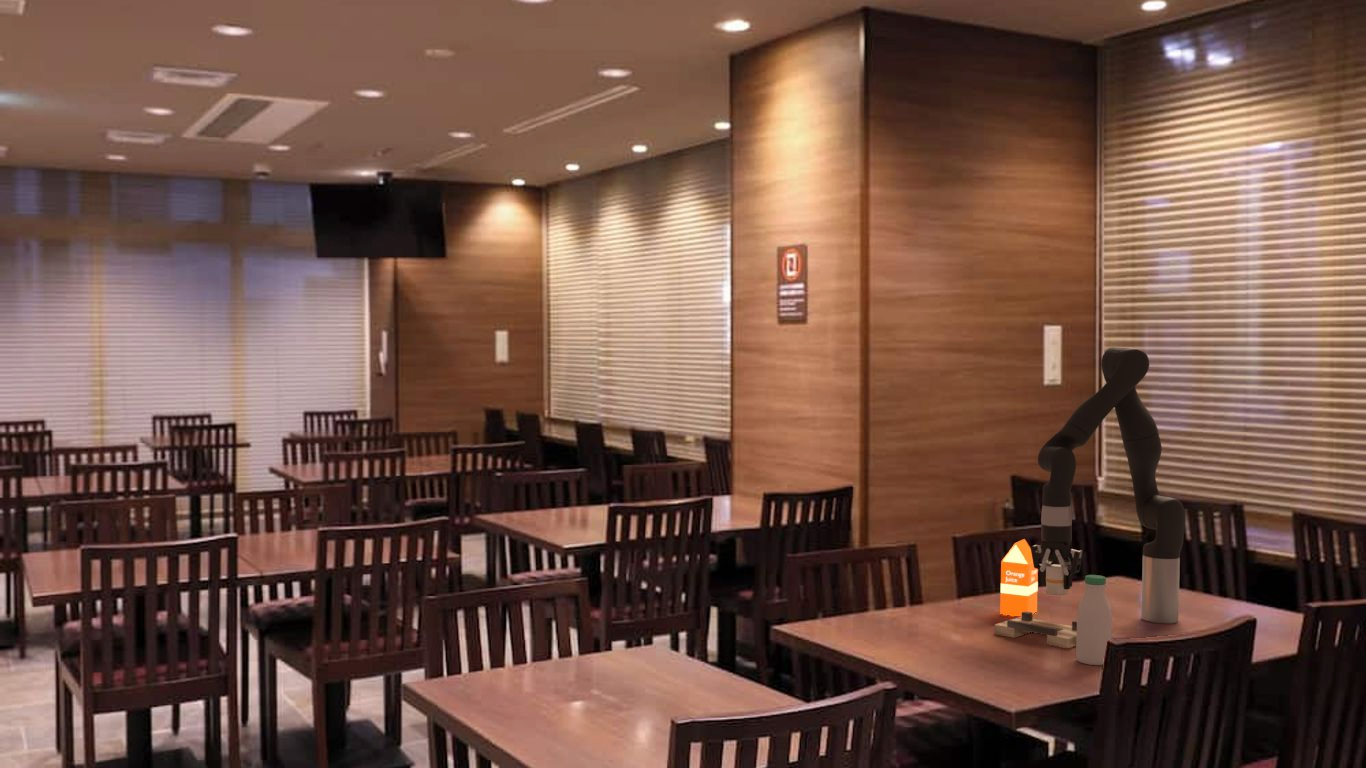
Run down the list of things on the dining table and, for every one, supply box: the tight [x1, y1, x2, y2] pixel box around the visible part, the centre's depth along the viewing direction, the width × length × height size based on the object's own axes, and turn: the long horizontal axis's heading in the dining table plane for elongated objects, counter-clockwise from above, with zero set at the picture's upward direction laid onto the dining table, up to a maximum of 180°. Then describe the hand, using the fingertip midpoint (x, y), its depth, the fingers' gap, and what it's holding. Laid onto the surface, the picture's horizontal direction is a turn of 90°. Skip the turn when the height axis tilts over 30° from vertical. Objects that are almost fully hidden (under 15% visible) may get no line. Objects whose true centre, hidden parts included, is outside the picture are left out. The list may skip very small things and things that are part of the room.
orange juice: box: [999, 538, 1039, 617], centre depth 331 cm, size 8×9×20 cm
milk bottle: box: [1075, 574, 1113, 666], centre depth 281 cm, size 8×8×20 cm
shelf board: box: [994, 611, 1077, 649], centre depth 305 cm, size 13×20×4 cm, turn 45°
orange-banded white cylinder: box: [1045, 563, 1068, 596], centre depth 315 cm, size 5×5×7 cm
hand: (1056, 587), depth 315 cm, fingers closed on orange-banded white cylinder, 5 cm apart
